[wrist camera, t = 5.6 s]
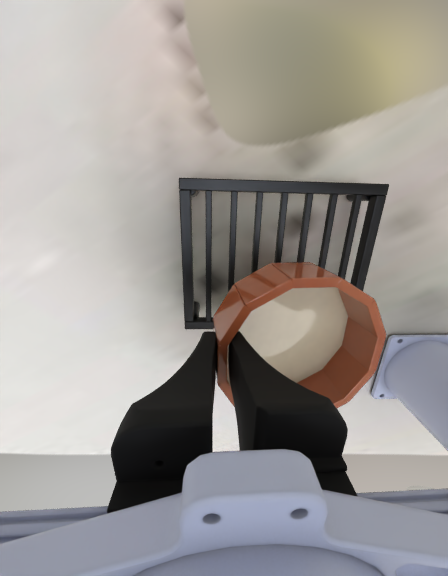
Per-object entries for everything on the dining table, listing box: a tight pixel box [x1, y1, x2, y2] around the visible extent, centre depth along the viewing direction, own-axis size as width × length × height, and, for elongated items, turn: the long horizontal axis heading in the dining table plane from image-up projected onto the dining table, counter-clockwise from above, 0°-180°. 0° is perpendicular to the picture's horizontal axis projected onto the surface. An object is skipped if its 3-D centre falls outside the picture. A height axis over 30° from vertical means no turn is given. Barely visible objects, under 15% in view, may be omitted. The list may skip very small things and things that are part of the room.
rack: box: [179, 178, 389, 329], centre depth 18 cm, size 14×11×3 cm
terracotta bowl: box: [213, 262, 386, 408], centre depth 13 cm, size 9×9×3 cm
